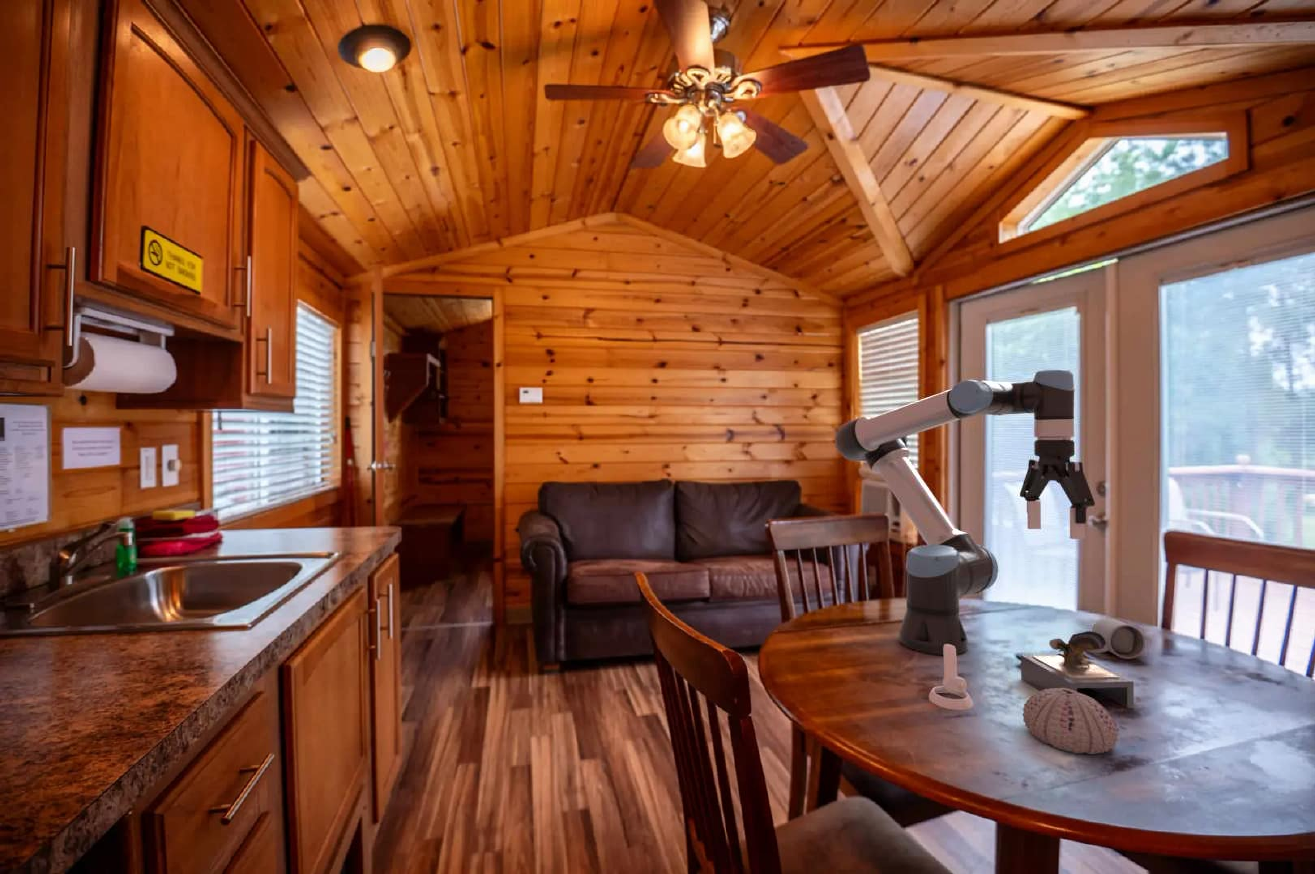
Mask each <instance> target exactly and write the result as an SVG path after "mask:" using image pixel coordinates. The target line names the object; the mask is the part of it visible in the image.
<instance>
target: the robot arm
mask: <svg viewBox="0 0 1315 874" xmlns="http://www.w3.org/2000/svg"><path fill="white" fill-rule="evenodd" d="M1074 383H1075V382H1074V374H1073V371H1070V370H1068V369H1048V370H1047V369H1046V370H1039V371H1036V372H1035V373H1034V374H1033V377H1032V380H1028V381H1017V382H1004V381H1003V382H1000V381H989V380H981V379H965V380H961V381H959V382H957V383H956V384H955V385H954V386H952V388H951V389H948V390H945V391H942V392H939V393H937V394H934V395H931V396H928V397H925V398H922V399H920V400H917V401H914V402H912V403H908V404H907V405H906V404H905V405H903V406H901V407H898V408H896V409H893V410H889V411H886V412H884V413H880V414H878V415H876V416H873V417H867V416H862V417H859V418H856V419H853V420H850V421H848V422H847V421H846V422H845V423H844V424H841V426H840V427H839V428H838V429H837V432H836V433H835V437H834V443H835V444H834V445H835V447H836V450H837V452H838V453H839V454H840V455H841V456H842V457H843V458H844V459H847V460H849V461H852V462H865V463H866V464H867V465H868V467H869V468H870V470H871V472H872V473H873V474H876V475H877V474H878V475H881V477H882V479H883V480H884V481H885V483H886V484H887V485H888V487H889V489H890V490H891V492H892V494H893V495H894V496H895V498H896V499H897V501H898V503H899V504H900V506H901V507H902V509H903V511H904V512H905V513H906V515H907V517H908V518H909V520H910V521H911V522H912V523H913V526H914V527H915V529H916V530H917V531H918V533H919V535H920V536H921V537H922V539H923V541H924V542H925V543H926V545H925V544H924V545H918V546H915V547H912V548H911V549H910V550H908V552H907V553H906V562H905V566H904V567H905V573H906V574H905V576H906V577H905V581H906V584H905V585H906V586H905V587H906V592H905V593H906V594H905V595H906V599H905V600H906V610H905V613H904V616H903V619H902V622H901V625H900V627H899V631H898V641H899V643H900V642H901V643H902V644H903V645H902V644H901V643H900V644H901V645H902V646H904V645H905V646H907V647H908V648H907V647H906V648H907V649H910V650H912V649H915V650H918V651H917V652H919V651H921V652H920V653H923V652H924V653H923V654H928V653H929V655H935V654H937V655H936V656H944V655H943V647H944V645H945V644H949V645H953V646H955V648H956V656H957V655H961V654H965V653H967V651H968V650H969V649H968V647H969V646H968V645H969V643H968V637H967V634H966V631H965V629H964V626H963V623H962V620H961V617H960V597H964V596H968V595H972V594H979V593H982V592H983V591H985V590H988V589H990V588H991V587H992V586H993V585H994V584H995V583H996V581H997V578H998V576H999V575H998V573H999V565H998V561H997V558H996V556H995V554H993V552H992V551H991V550H989V548H987V547H985V546H982V545H980V544H976V542H975V541H974V539H973V538H972V536H970V534H969V533H968V532H965V531H962V530H959V528H958V527H957V526H956V525H955V524H954V522H953V520H952V519H951V517H950V516H949V515H948V513H947V512H946V511H945V509H944V508H943V506H942V505H941V503H940V502H939V501H938V500H937V498H936V497H935V495H934V494H933V492H932V491H931V489H930V488H929V487H928V485H927V483H926V482H925V481H924V480H923V477H922V476H921V475H920V473H919V472H918V471H917V470H916V468H915V467H914V465H913V464H912V463H911V461H910V460H909V457H910V450H909V448H908V446H909V445H908V440H909V439H908V437H909V436H912V435H916V434H919V433H923V432H925V431H928V430H930V429H934V428H937V427H941V426H943V425H947V424H950V423H954V422H956V421H960V420H963V419H967V418H971V417H974V416H977V415H981V414H983V415H986V416H987V415H988V416H990V415H991V416H1004V415H1019V414H1020V415H1022V414H1033V419H1034V420H1033V437H1034V438H1036V440H1035V441H1033V442H1034V443H1033V444H1034V445H1033V447H1034V448H1033V449H1034V450H1033V452H1034V456H1035V457H1039V458H1038V459H1037V458H1035V459H1034V458H1033V459H1032V458H1031V459H1029V460H1028V464H1027V465H1028V467H1027V471H1026V474H1025V477H1024V480H1023V483H1022V486H1021V489H1020V492H1019V496H1020V497H1021V498H1024V500H1025V501H1026V513H1027V530H1041V529H1042V519H1041V518H1042V514H1041V513H1042V510H1041V509H1042V505H1041V504H1042V501H1041V498H1040V496H1041V495H1042V494H1043V492H1044V491H1045V489H1046V487H1047V486H1048V484H1049V482H1051V481H1055V482H1056V483H1058V484H1059V485H1060V486H1061V489H1062V490H1063V492H1064V494H1065V496H1066V497H1067V498H1068V500H1069V502H1070V504H1071V506H1070V507H1069V539H1070V540H1071V539H1072V540H1078V539H1079V540H1086V523H1087V509H1088V508H1090V507H1095V505H1096V502H1095V499H1094V498H1093V497H1094V496H1093V494H1092V491H1091V489H1090V486H1089V483H1088V481H1087V478H1086V475H1085V473H1084V466H1083V462H1082V461H1071V457H1074V456H1075V453H1076V452H1075V441H1074V440H1073V439H1072V438H1074V437H1075V390H1076V389H1075V384H1074ZM905 646H904V647H905ZM915 650H914V651H915Z"/></svg>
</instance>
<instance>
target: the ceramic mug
mask: <svg viewBox="0 0 1315 874" xmlns="http://www.w3.org/2000/svg"><path fill="white" fill-rule="evenodd" d="M1091 632H1095V633H1098V634H1100V635H1101V636H1103V638H1104V640H1105V641H1106V643H1105V644H1106V645H1105V646H1104V648H1103V649H1099V650H1091V651H1086V652H1088V653H1089V654H1101V653H1105V652H1110V654H1111V653H1112V654H1113V655H1114V656H1116V657H1118V658H1121V659H1124V660H1125V659H1126V660H1127V659H1128V660H1130V659H1131V660H1132V659H1135V658H1137V657H1139V656H1140V655H1141V654H1142V653H1143V651H1144V650H1145V647H1146V639H1145V636H1144V633H1142V631H1141V630H1140V629H1139V628H1138V627H1136V626H1134V625H1132V624H1128V623H1126V622H1123V621H1120V620H1117V619H1113V618H1102V619H1099V620H1098V621H1096V622H1094V624H1093V626H1092V629H1091Z"/></svg>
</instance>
